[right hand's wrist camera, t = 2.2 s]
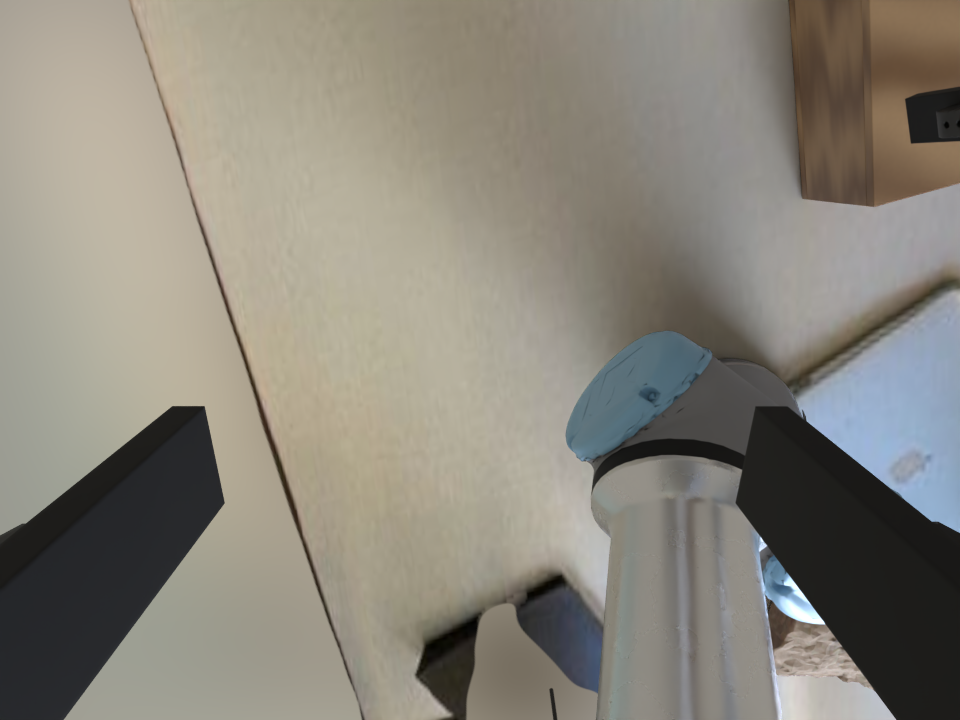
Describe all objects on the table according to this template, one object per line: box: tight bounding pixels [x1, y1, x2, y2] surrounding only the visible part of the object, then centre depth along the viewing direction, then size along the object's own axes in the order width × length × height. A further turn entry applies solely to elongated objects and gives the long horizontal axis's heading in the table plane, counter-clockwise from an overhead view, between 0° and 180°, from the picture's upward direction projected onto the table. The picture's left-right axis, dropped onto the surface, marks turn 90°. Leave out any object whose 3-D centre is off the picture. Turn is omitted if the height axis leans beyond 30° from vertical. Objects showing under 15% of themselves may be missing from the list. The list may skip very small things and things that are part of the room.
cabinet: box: [789, 0, 960, 207], centre depth 42 cm, size 17×11×10 cm, turn 16°
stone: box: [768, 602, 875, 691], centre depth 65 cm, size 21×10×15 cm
